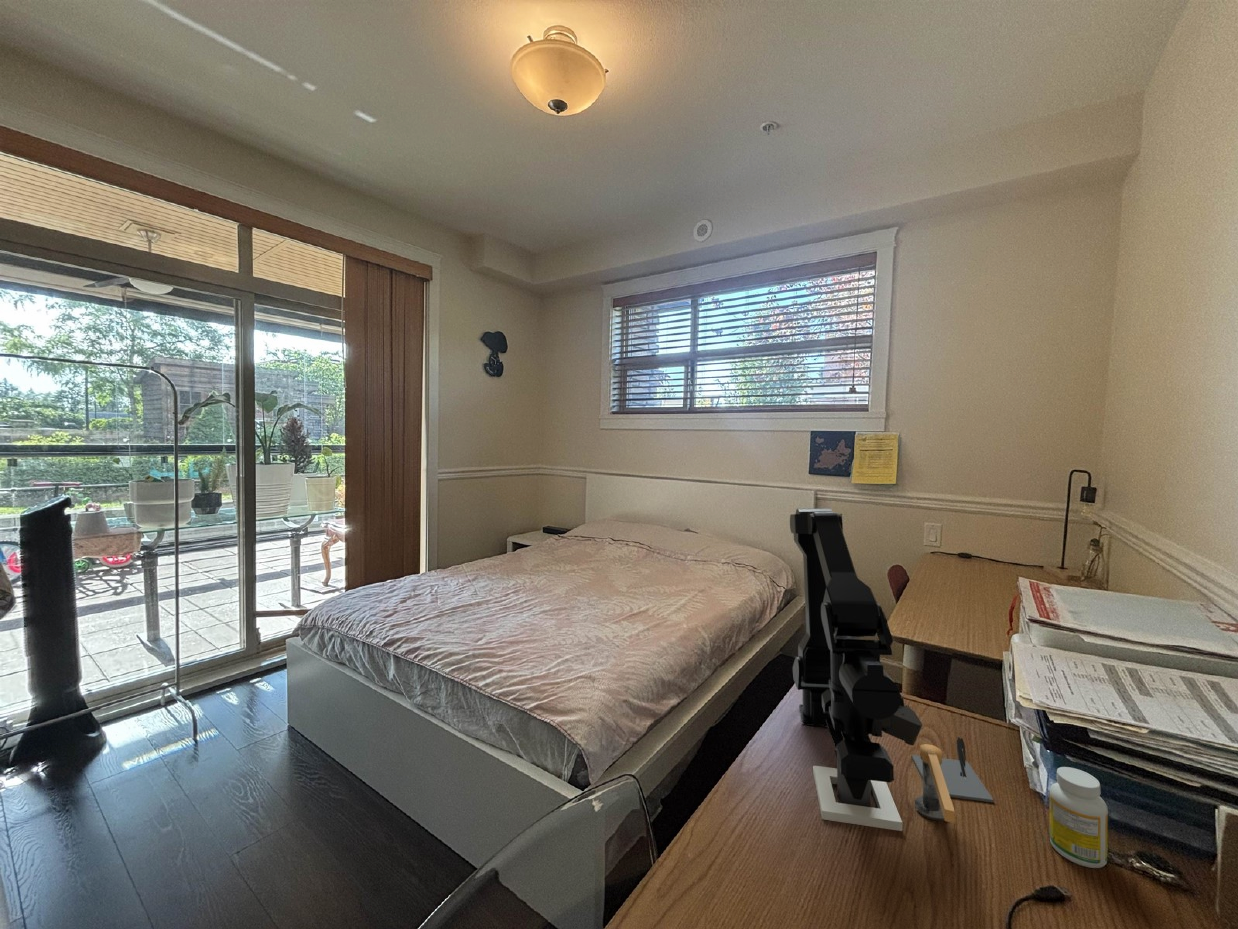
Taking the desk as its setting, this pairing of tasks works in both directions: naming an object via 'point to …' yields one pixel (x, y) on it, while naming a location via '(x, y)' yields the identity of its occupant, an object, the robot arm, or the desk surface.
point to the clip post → (929, 798)
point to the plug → (846, 795)
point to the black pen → (961, 755)
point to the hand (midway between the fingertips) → (853, 787)
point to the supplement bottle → (1078, 818)
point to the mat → (959, 780)
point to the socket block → (856, 814)
